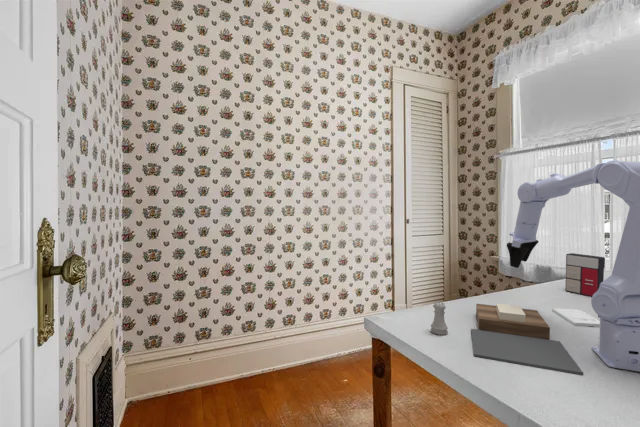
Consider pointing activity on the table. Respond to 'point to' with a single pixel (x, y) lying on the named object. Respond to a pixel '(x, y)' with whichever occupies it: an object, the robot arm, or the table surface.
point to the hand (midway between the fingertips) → (518, 263)
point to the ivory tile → (510, 313)
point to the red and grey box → (584, 273)
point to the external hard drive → (577, 317)
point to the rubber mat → (523, 351)
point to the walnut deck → (512, 323)
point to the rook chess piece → (439, 320)
